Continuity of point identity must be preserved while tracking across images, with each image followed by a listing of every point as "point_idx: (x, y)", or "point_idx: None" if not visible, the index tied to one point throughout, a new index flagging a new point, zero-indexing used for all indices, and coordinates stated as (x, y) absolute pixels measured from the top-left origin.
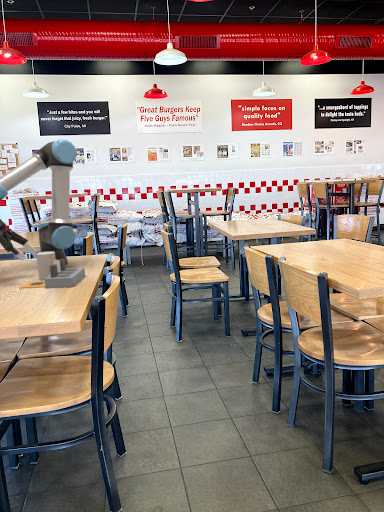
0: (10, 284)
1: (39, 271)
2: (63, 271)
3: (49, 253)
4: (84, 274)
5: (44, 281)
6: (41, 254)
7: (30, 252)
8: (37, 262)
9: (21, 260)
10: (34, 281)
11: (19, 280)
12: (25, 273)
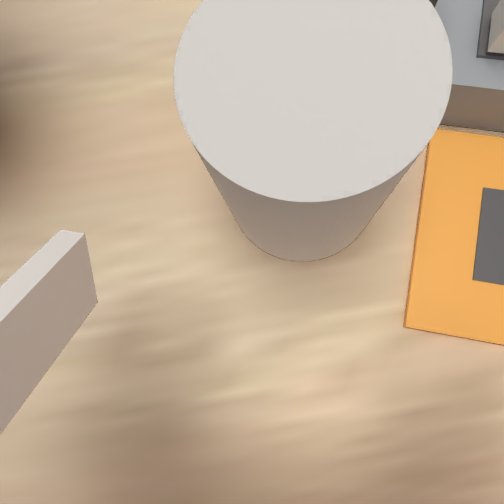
0: (435, 485)
1: (362, 227)
2: (440, 6)
3: (382, 1)
4: None
5: (453, 193)
6: (429, 104)
7: (61, 340)
8: (353, 220)
9: None
10: (425, 278)
11: (291, 430)
12: None
